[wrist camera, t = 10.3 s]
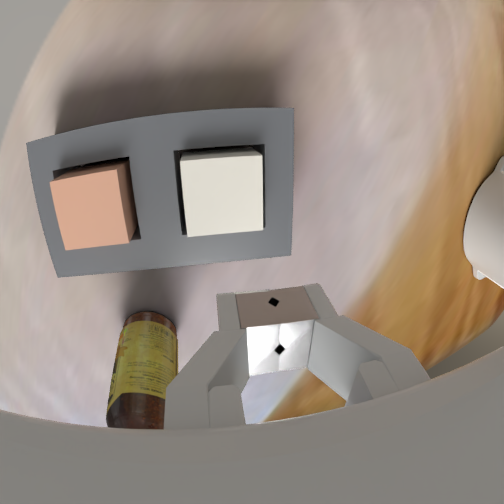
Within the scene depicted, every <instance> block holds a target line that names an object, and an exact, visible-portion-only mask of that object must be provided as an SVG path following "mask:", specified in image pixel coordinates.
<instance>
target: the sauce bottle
mask: <svg viewBox="0 0 504 504" xmlns="http://www.w3.org/2000/svg"><path fill="white" fill-rule="evenodd" d="M177 375H178V339H177V334H176V329H175V326H174V325H173V323H172V322H171V321H169V319H167V318H165V317H164V316H163V315H160V314H158V313H154V312H145V311H144V312H139V313H136V314H133V315H131V316H130V317H129V318H128V319H127V320H126V321H125V324H124V326H123V329H122V331H121V334H120V338H119V342H118V347H117V353H116V358H115V363H114V368H113V375H112V379H111V386H110V393H109V399H108V407H107V415H106V422H107V426H108V428H124V429H164V415H165V399H166V387H167V386H168V385H169V384H170V383H171V382H172V380H173V379H174V378H175V377H176V376H177Z"/></svg>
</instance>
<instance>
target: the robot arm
mask: <svg viewBox="0 0 504 504" xmlns="http://www.w3.org/2000/svg"><path fill="white" fill-rule="evenodd" d="M463 243H464V251H465V255H466V257H467V259H468V261H469V262H470V263H471V264H472V266H473V274H474V277H475V278H477V279H479V280H481V279H483V278H484V277H487V278H489V279H490V280H492V281H493V282H495V283H496V284H498V285H499V286H501V287H502V288H503V289H504V156H502V157H501V159H500V160H499V162H498V164H497V166H496V168H495V170H494V172H493V173H492V174H491V175H490V176H489V177H488V178H487V179H486V180H485V181H484V183H483V184H482V185H481V187H480V188H479V190H478V191H477V193H476V195H475V197H474V199H473V201H472V204H471V206H470V209H469V212H468V215H467V219H466V223H465V229H464V239H463ZM217 310H218V323H219V331H215V332H213V333H212V334H211V336H210V337H209V338H208V339H207V340H206V342H205V343H204V344H203V345H202V346H201V348H200V349H199V350H198V351H197V352H196V353H195V355H194V356H193V357H192V358H191V359H190V360H189V362H188V363H187V364H186V365H185V366H184V368H183V369H182V370H181V371H180V372H179V373H178V375H177V376H176V377H175V378H174V379H173V380H172V382H171V383H170V384H169V385H168V386H167V387H166V399H165V415H164V429H124V428H108V427H97V426H87V425H78V424H71V423H63V422H57V421H51V420H45V419H40V418H34V417H29V416H25V415H20V414H16V413H12V412H7V411H3V410H0V504H504V346H503V347H501V348H499V349H497V350H495V351H493V352H491V353H489V354H487V355H485V356H483V357H481V358H479V359H477V360H475V361H473V362H471V363H469V364H467V365H464V366H462V367H460V368H458V369H455V370H453V371H450V372H448V373H446V374H443V375H441V376H439V377H436V378H434V379H430V377H429V376H428V374H427V373H426V371H425V370H424V368H423V367H422V365H421V364H420V362H419V361H418V359H417V358H416V357H415V355H414V354H413V352H412V351H411V349H409V348H407V347H405V346H403V345H401V344H399V343H397V342H395V341H393V340H391V339H389V338H387V337H385V336H383V335H381V334H379V333H377V332H375V331H373V330H371V329H369V328H367V327H365V326H363V325H361V324H359V323H357V322H355V321H353V320H351V319H349V318H347V317H345V316H344V315H342V316H338V314H337V312H336V311H335V309H334V307H333V306H332V304H331V302H330V301H329V299H328V297H327V295H326V294H325V292H324V290H323V289H322V287H321V285H320V284H318V283H316V284H310V285H303V286H299V287H291V288H283V289H275V290H260V291H248V292H235V293H223V294H217ZM301 368H308V370H310V371H311V372H312V373H313V374H314V375H316V376H317V377H318V378H319V379H320V380H322V381H323V382H324V383H325V384H327V385H328V386H329V387H330V388H331V389H333V390H334V391H335V392H336V393H338V394H339V395H340V396H341V397H343V398H344V399H345V400H346V401H347V402H346V404H345V407H342V408H338V409H334V410H329V411H325V412H320V413H315V414H311V415H306V416H300V417H295V418H289V419H283V420H277V421H270V422H263V423H256V424H247V425H246V423H245V417H244V411H243V405H242V399H241V393H242V391H243V389H244V387H245V385H246V383H247V381H248V380H249V378H250V377H249V376H252V375H259V374H266V373H272V372H278V371H286V370H293V369H301Z"/></svg>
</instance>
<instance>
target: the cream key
mask: <svg viewBox="0 0 504 504" xmlns="http://www.w3.org/2000/svg"><path fill="white" fill-rule="evenodd" d="M180 168H181V179H182V190H183V200H184V210H185V219H186V228H187V236H188V237H194V236H205V235H215V234H226V233H237V232H248V231H260V230H263V168H262V155H261V154H260V153H258V152H257V151H256V150H254V149H253V148H252V147H251V148H231V149H216V150H203V151H192V152H183V155H182V157H181V160H180Z"/></svg>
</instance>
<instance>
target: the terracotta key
mask: <svg viewBox="0 0 504 504" xmlns="http://www.w3.org/2000/svg"><path fill="white" fill-rule="evenodd" d="M50 187H51V192H52V197H53V202H54V207H55V211H56V216H57V220H58V224H59V228H60V232H61V236H62V239H63V243H64V247H65V250H74V249H82V248H91V247H99V246H108V245H117V244H126V243H129V242H130V240H131V238H132V236H133V234H134V232H135V229H136V227H137V225H138V217H137V211H136V205H135V198H134V191H133V184H132V177H131V169H130V160H129V159H126V160H120V161H114V162H108V163H102V164H96V165H91V166H85V167H80V168H75V169H71V170H69V171H67V172H66V173H64V174H62V175H61V176H59V177H57V178H55V179H54V180H52V181H50Z"/></svg>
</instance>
